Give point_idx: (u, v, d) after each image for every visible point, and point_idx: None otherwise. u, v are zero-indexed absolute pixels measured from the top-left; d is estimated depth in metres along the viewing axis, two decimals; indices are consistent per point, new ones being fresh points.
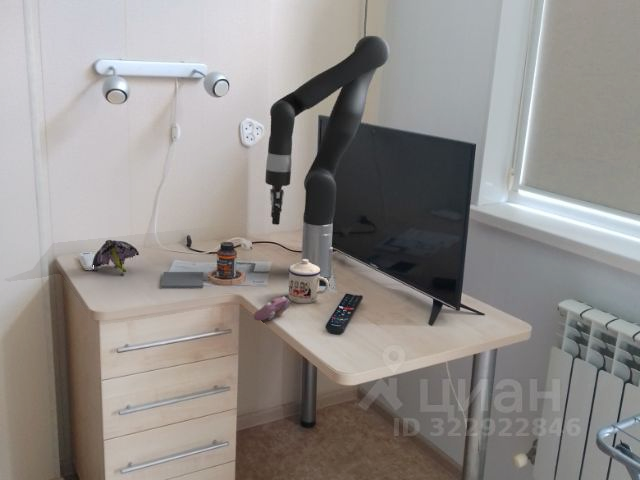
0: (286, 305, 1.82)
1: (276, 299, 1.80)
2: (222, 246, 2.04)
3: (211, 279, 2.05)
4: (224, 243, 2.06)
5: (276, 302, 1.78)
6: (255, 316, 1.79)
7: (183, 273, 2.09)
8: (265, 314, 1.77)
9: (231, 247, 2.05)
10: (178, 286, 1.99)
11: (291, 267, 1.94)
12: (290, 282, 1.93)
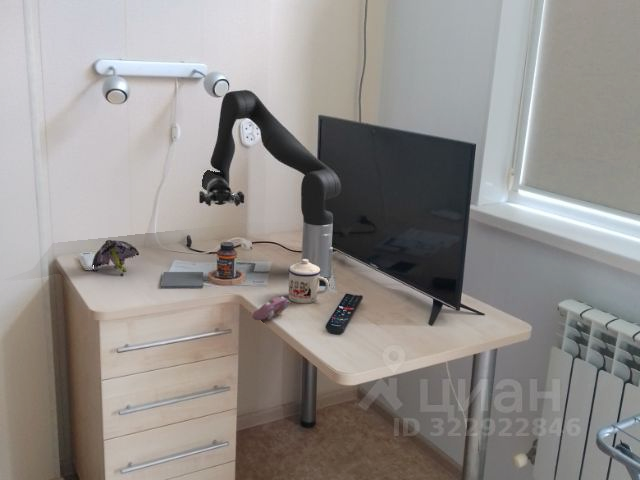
0: (285, 305, 1.82)
1: (275, 299, 1.80)
2: (222, 246, 2.04)
3: (211, 279, 2.05)
4: (224, 243, 2.06)
5: (275, 302, 1.79)
6: (254, 316, 1.80)
7: (183, 273, 2.09)
8: (264, 314, 1.77)
9: (231, 247, 2.05)
10: (178, 286, 1.99)
11: (291, 267, 1.94)
12: (290, 282, 1.93)
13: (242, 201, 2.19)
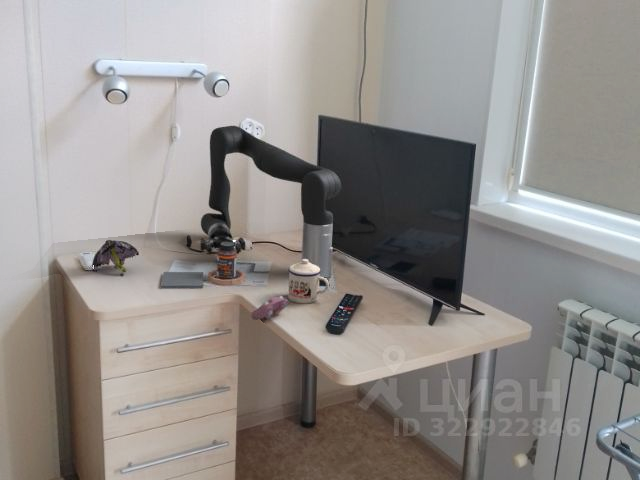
0: (283, 304, 1.82)
1: (274, 298, 1.80)
2: (222, 246, 2.04)
3: (211, 279, 2.05)
4: (224, 243, 2.06)
5: (274, 301, 1.79)
6: (252, 315, 1.80)
7: (183, 273, 2.09)
8: (263, 313, 1.78)
9: (231, 247, 2.05)
10: (178, 286, 1.99)
11: (291, 267, 1.94)
12: (290, 282, 1.93)
13: (243, 248, 2.20)
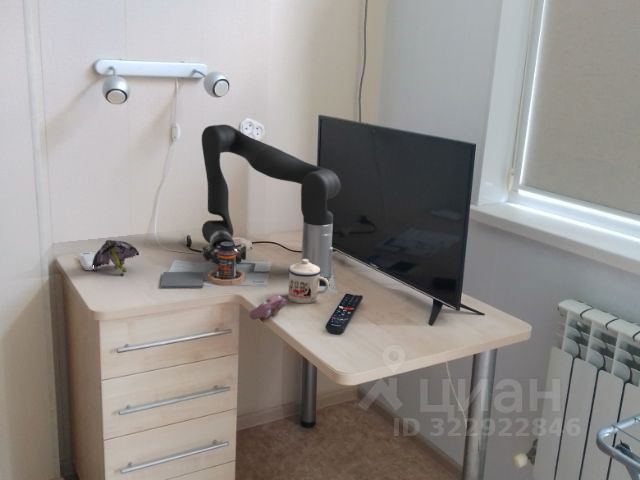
0: (282, 304, 1.83)
1: (272, 298, 1.80)
2: (222, 246, 2.04)
3: (211, 279, 2.05)
4: (224, 243, 2.06)
5: (272, 301, 1.79)
6: (251, 315, 1.80)
7: (183, 273, 2.09)
8: (261, 313, 1.78)
9: (231, 247, 2.05)
10: (178, 286, 1.99)
11: (291, 267, 1.94)
12: (290, 282, 1.93)
13: (243, 258, 2.10)
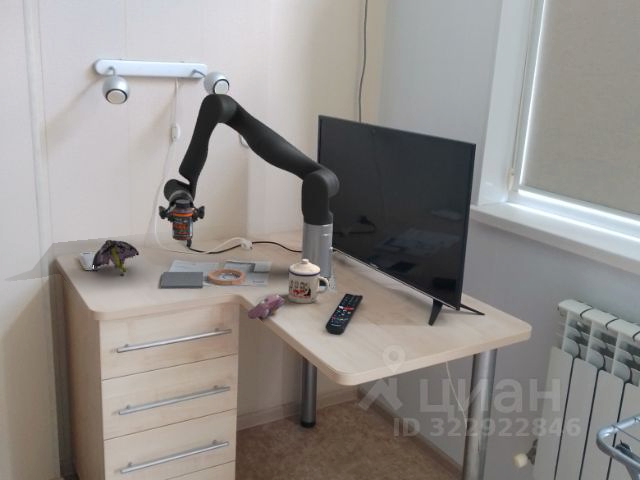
0: (280, 303, 1.83)
1: (270, 297, 1.81)
2: (177, 204, 1.97)
3: (211, 279, 2.05)
4: (179, 201, 1.98)
5: (270, 300, 1.79)
6: (249, 314, 1.80)
7: (183, 273, 2.09)
8: (259, 312, 1.78)
9: (186, 205, 1.97)
10: (178, 286, 1.99)
11: (291, 267, 1.94)
12: (290, 282, 1.93)
13: (200, 217, 2.03)
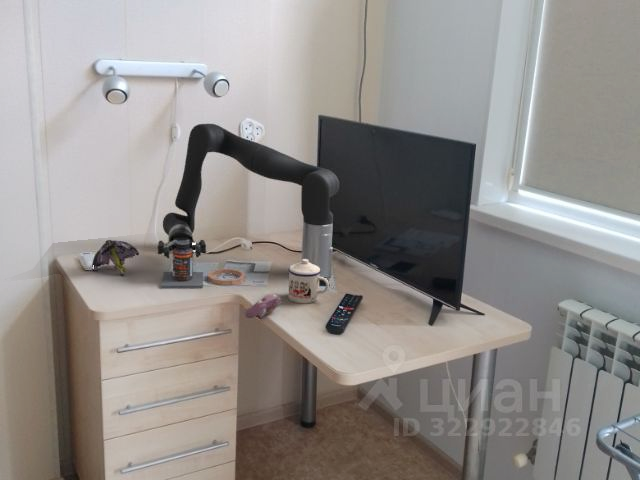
0: (277, 302, 1.83)
1: (267, 297, 1.81)
2: (177, 245, 2.00)
3: (211, 279, 2.05)
4: (180, 242, 2.02)
5: (267, 300, 1.80)
6: (246, 314, 1.81)
7: None
8: (256, 312, 1.78)
9: (186, 246, 2.01)
10: (178, 286, 1.99)
11: (291, 267, 1.94)
12: (290, 282, 1.93)
13: (204, 251, 2.07)
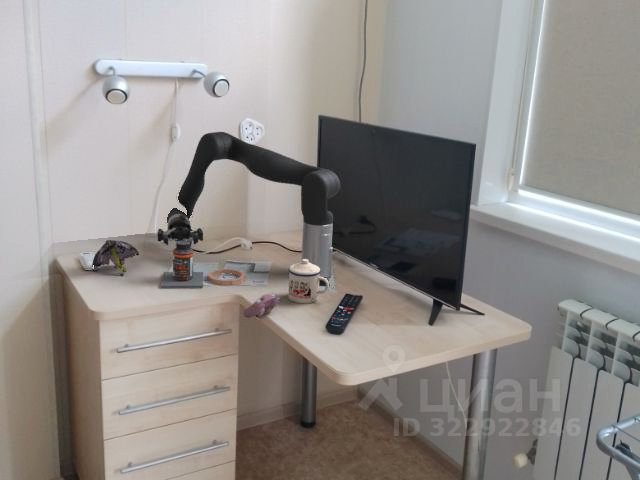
0: (275, 302, 1.84)
1: (265, 296, 1.81)
2: (177, 245, 2.01)
3: (211, 279, 2.05)
4: (180, 242, 2.02)
5: (266, 299, 1.80)
6: (244, 313, 1.81)
7: None
8: (255, 311, 1.79)
9: (187, 246, 2.01)
10: (178, 286, 1.99)
11: (291, 267, 1.94)
12: (290, 282, 1.93)
13: (201, 239, 2.19)
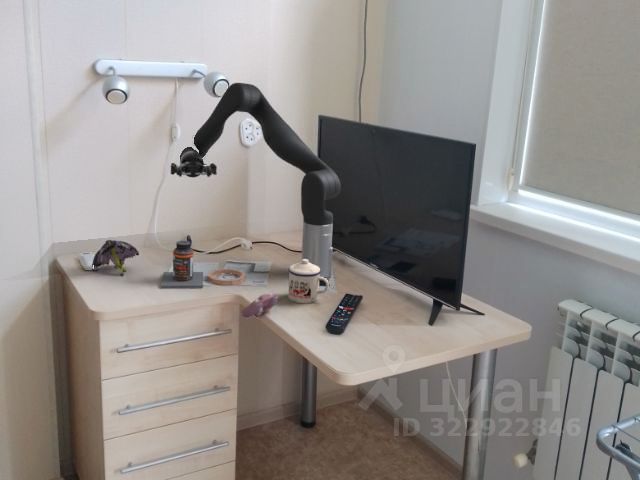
0: (273, 301, 1.84)
1: (264, 296, 1.81)
2: (178, 245, 2.00)
3: (211, 279, 2.05)
4: (180, 242, 2.02)
5: (264, 299, 1.80)
6: (243, 313, 1.81)
7: None
8: (253, 311, 1.79)
9: (187, 246, 2.01)
10: (178, 286, 1.99)
11: (291, 267, 1.94)
12: (290, 282, 1.93)
13: (214, 172, 2.16)
